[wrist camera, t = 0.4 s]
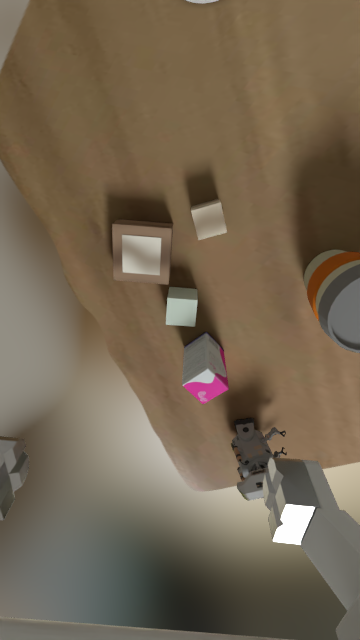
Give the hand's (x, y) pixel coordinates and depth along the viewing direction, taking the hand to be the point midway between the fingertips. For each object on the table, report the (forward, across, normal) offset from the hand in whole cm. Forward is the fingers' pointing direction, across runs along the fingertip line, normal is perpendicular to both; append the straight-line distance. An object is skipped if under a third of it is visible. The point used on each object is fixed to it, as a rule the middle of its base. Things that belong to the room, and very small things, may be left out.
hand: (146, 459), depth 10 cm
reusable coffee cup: (+45, -26, +7) cm, 53 cm away
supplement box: (+46, -6, +24) cm, 52 cm away
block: (+45, -4, -1) cm, 45 cm away
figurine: (+46, -20, +45) cm, 67 cm away
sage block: (+45, -1, +14) cm, 47 cm away
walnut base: (+45, +6, +5) cm, 46 cm away
